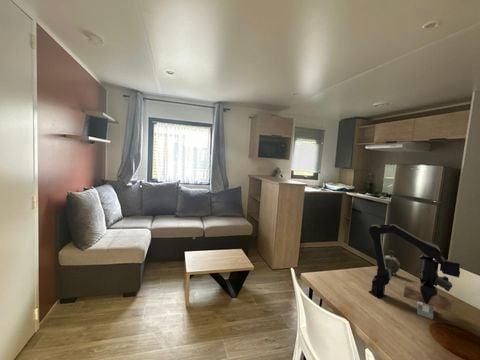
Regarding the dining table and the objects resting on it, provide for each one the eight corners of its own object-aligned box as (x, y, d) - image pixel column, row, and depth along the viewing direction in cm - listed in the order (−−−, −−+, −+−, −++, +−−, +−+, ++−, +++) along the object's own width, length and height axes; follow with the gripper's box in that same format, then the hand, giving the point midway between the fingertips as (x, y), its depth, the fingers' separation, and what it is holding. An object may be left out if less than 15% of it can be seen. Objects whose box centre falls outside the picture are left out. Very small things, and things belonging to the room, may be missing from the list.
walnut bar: (403, 296, 116) (405, 287, 115) (403, 293, 119) (404, 284, 118) (450, 311, 105) (452, 301, 105) (449, 307, 108) (450, 298, 108)
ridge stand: (416, 313, 110) (418, 304, 110) (417, 304, 118) (418, 295, 118) (432, 319, 107) (434, 309, 106) (431, 309, 114) (433, 300, 114)
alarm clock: (399, 275, 150) (401, 252, 149) (397, 278, 146) (400, 254, 145) (380, 269, 158) (383, 247, 156) (378, 271, 154) (381, 249, 152)
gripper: (454, 283, 98) (449, 316, 100) (450, 269, 113) (446, 298, 114) (422, 274, 105) (418, 305, 107) (421, 261, 120) (418, 289, 121)
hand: (426, 299), depth 112 cm, fingers open, 9 cm apart
